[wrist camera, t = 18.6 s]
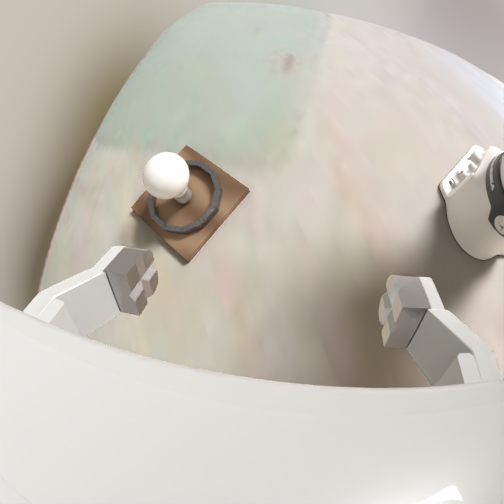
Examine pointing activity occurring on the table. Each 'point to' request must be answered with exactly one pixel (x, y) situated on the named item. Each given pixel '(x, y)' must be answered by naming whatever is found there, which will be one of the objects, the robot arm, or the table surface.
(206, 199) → the board
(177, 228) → the collar
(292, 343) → the table surface
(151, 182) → the lightbulb
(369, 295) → the table surface
